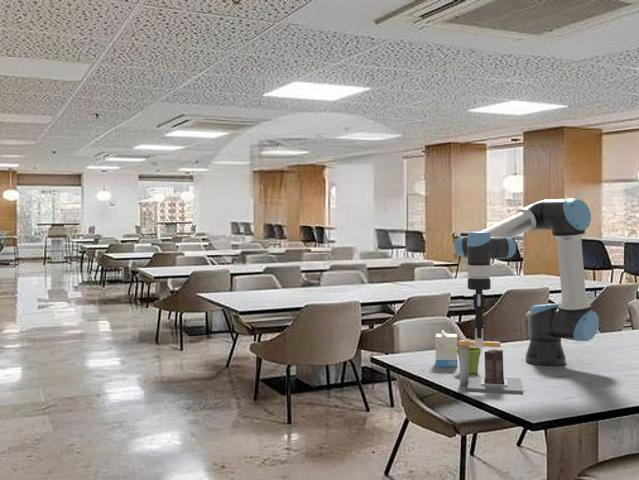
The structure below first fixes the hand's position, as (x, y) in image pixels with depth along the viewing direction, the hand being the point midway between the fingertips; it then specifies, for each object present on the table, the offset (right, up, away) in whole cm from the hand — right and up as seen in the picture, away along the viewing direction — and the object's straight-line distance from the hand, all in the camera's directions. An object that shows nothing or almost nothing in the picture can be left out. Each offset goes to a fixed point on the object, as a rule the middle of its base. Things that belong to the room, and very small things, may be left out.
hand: (479, 347), depth 231 cm
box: (+6, -14, +3) cm, 15 cm away
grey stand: (+5, -14, +3) cm, 15 cm away
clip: (+1, 0, +3) cm, 4 cm away
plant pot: (+2, -13, +24) cm, 28 cm away
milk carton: (-4, -13, +38) cm, 40 cm away
